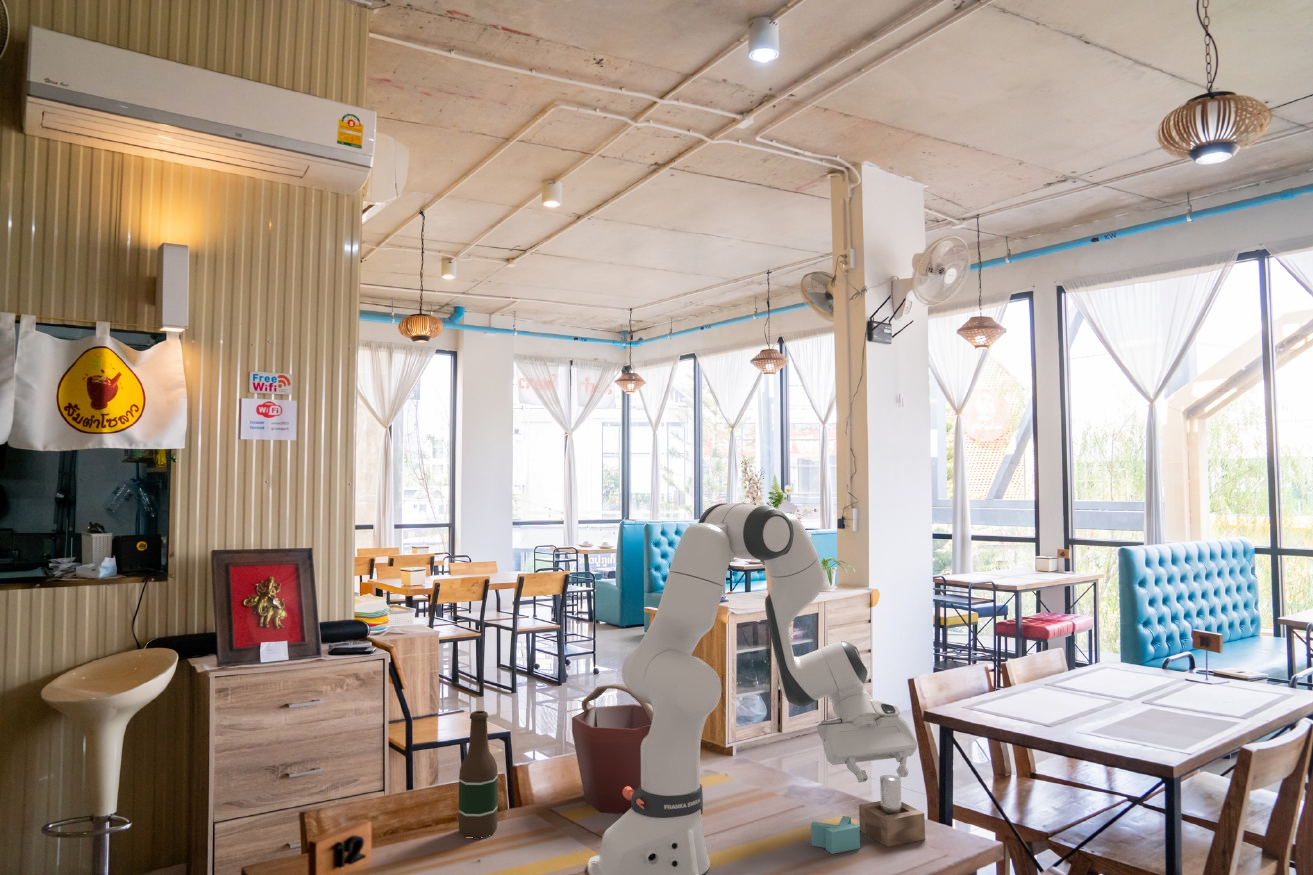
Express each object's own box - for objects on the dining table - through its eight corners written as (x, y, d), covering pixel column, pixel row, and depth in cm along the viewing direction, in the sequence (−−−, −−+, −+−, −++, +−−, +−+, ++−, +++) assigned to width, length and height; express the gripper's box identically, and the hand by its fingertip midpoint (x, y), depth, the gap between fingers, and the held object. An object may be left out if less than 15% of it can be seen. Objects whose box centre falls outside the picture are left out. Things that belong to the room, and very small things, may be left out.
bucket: (559, 792, 194) (559, 682, 196) (644, 776, 204) (643, 672, 206) (603, 827, 172) (603, 704, 174) (695, 808, 183) (694, 691, 185)
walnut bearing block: (887, 846, 162) (887, 820, 162) (859, 829, 170) (858, 804, 170) (925, 839, 165) (924, 813, 165) (895, 823, 173) (895, 798, 174)
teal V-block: (825, 855, 158) (824, 833, 158) (808, 843, 163) (807, 822, 164) (866, 846, 162) (865, 825, 162) (848, 835, 167) (847, 815, 167)
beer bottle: (450, 835, 169) (451, 714, 171) (475, 822, 176) (476, 705, 178) (480, 842, 165) (481, 718, 167) (505, 828, 172) (505, 709, 174)
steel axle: (890, 839, 165) (888, 782, 166) (877, 832, 168) (875, 776, 169) (906, 836, 166) (904, 779, 167) (893, 829, 170) (892, 773, 171)
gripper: (819, 713, 176) (843, 775, 166) (904, 705, 181) (933, 765, 171) (809, 729, 180) (833, 791, 169) (893, 721, 185) (920, 780, 175)
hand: (884, 778), depth 170 cm, fingers open, 8 cm apart
